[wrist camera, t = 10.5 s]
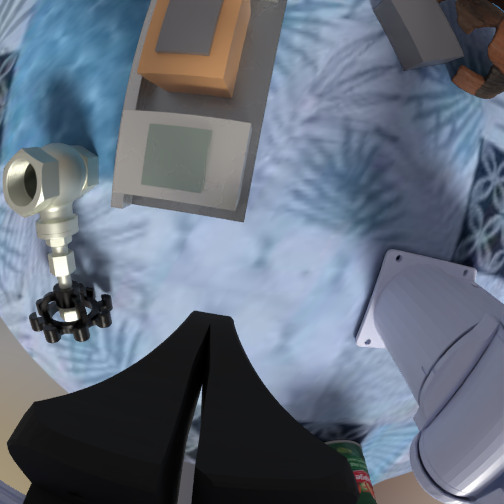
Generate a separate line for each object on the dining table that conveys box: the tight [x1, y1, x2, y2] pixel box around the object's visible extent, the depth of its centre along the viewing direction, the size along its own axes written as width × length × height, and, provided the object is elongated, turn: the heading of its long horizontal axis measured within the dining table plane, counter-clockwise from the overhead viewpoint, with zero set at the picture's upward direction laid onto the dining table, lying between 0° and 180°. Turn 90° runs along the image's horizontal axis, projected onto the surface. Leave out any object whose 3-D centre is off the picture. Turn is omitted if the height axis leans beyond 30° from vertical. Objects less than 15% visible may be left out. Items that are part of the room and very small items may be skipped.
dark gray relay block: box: [373, 0, 464, 71], centre depth 14 cm, size 4×5×3 cm
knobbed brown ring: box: [436, 0, 504, 99], centre depth 12 cm, size 12×10×8 cm
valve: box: [3, 143, 113, 343], centre depth 16 cm, size 7×7×12 cm
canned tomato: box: [324, 440, 377, 504], centre depth 23 cm, size 8×8×11 cm
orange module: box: [137, 0, 251, 98], centre depth 12 cm, size 4×6×5 cm, turn 170°
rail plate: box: [111, 0, 287, 222], centre depth 13 cm, size 8×20×6 cm, turn 170°
